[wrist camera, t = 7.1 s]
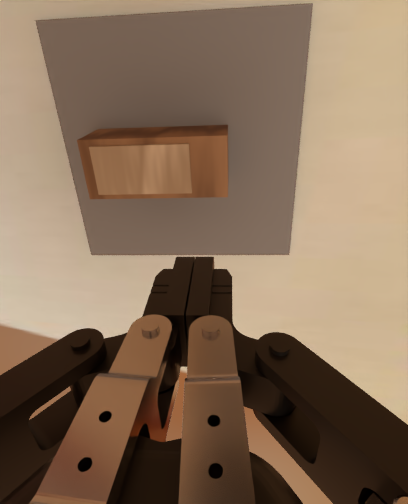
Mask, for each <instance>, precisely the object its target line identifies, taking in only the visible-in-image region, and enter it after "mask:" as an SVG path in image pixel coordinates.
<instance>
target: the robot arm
mask: <svg viewBox="0 0 408 504" xmlns="http://www.w3.org/2000/svg"><path fill="white" fill-rule="evenodd" d="M181 366H186V367H187V378H186V379H185V384H184V403H183V404H184V405H183V424H182V438H181V439H176V440H172V441H167V442H166V436H167V432H168V428H169V423H170V419H171V415H172V411H173V407H174V403H175V399H176V395H177V391H178V385H179V382H178V378H179V373H180V367H181ZM69 386H70V388H71V391H70V392H68V393H67V394H66V395H64V396H63V397H61V398H60V399H59V400H57V401H56V402H54V403H53V404H52V405H51V406H49V407H47V408H46V409H45V410H43V411H42V412H41V413H39V414H38V415H37V416H35V417H34V418H32V419H30V420H29V418H30V416H31V415H32V414H33V413H34V412H35V410H37V409H38V408H39V407H41V406H42V405H44V404H45V403H47V402H48V401H49V400H51V399H52V398H54V397H55V396H57V395H58V394H59V393H61V392H62V391H63V390H65V389H66V388H68V387H69ZM244 406H245V407H248V408H251V409H253V411H254V414H255V416H256V418H257V419H258V420H259V421H260V422H261V423H262V424H263V426H264V427H265V428H266V429H267V430H268V431H269V432H270V433H271V435H272V436H273V437H274V438H275V439H276V440H277V441H278V442H279V444H280V445H281V446H282V447H283V448H284V449H285V450H286V451H287V452H288V454H289V455H290V456H291V457H292V458H293V459H294V460H295V461H296V463H297V464H298V465H299V466H300V467H301V468H302V469H303V470H304V471H305V473H306V474H307V475H308V476H309V477H310V478H311V479H312V480H313V482H314V483H315V484H316V485H317V486H318V487H319V488H320V489H321V491H322V492H323V493H324V494H325V495H326V496H327V497H328V498H329V499H330V500H331V502H332V503H333V504H408V425H407V424H406V423H405V422H403V421H402V420H401V419H399V418H398V417H397V416H396V415H394V414H393V413H392V412H390V411H389V410H388V409H386V408H385V407H384V406H383V405H381V404H380V403H379V402H377V401H376V400H375V399H373V398H372V397H371V396H370V395H368V394H367V393H366V392H364V391H363V390H362V389H360V388H359V387H358V386H357V385H355V384H354V383H353V382H351V381H350V380H349V379H347V378H346V377H345V376H344V375H342V374H341V373H340V372H338V371H337V370H336V369H334V368H333V367H332V366H331V365H329V364H328V363H327V362H325V361H324V360H323V359H321V358H320V357H319V356H318V355H316V354H315V353H314V352H312V351H311V350H310V349H309V348H307V347H306V346H305V345H303V344H302V343H301V342H299V341H298V340H297V339H295V338H294V337H292V336H290V335H288V334H285V333H279V332H273V333H268V334H265V335H263V336H262V337H260V339H259V340H257V339H253V338H250V337H247V336H245V335H243V334H241V333H240V332H239V331H237V330H236V328H235V327H234V325H233V322H232V276H231V275H230V273H229V272H228V270H227V269H214V257H196V258H195V257H176V260H175V264H174V267H173V269H163V270H162V271H161V272H160V273H159V274H158V275H157V276H156V277H155V280H154V283H153V287H152V289H151V294H150V295H149V298H148V301H147V304H146V307H145V310H144V313H143V316H142V317H141V318H139V319H137V320H136V321H135V322H133V324H132V325H131V326H130V328H129V330H128V332H127V333H125V334H122V335H119V336H114V337H110V338H105V339H104V338H103V335H102V333H101V332H100V331H98V330H96V329H91V328H86V329H80V330H76V331H74V332H72V333H70V334H68V335H67V336H65V337H63V338H62V339H60V340H58V341H57V342H55V343H53V344H52V345H50V346H48V347H47V348H45V349H43V350H42V351H40V352H38V353H37V354H35V355H33V356H32V357H30V358H28V359H27V360H25V361H23V362H22V363H20V364H18V365H17V366H15V367H13V368H12V369H10V370H8V371H7V372H5V373H3V374H2V375H0V504H303V503H302V502H301V500H300V499H299V498H298V496H297V495H296V494H295V493H294V491H293V490H292V489H291V487H290V486H289V485H288V484H287V482H286V481H285V480H284V478H283V477H282V476H281V475H280V474H279V473H278V472H277V471H276V470H275V469H274V468H273V467H272V466H271V465H270V464H269V463H267V462H266V461H265V460H264V459H262V458H260V457H259V456H257V455H256V454H253V453H251V452H249V446H248V438H247V430H246V422H245V413H244Z"/></svg>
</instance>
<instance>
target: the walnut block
mask: <svg viewBox="0 0 408 504" xmlns="http://www.w3.org/2000/svg"><path fill="white" fill-rule="evenodd" d="M77 143H78V148H79V152H80V157H81V161H82V166H83V170H84V175H85V180H86V184H87V189H88V193H89V198H90V199H145V198H210V197H228V125H204V126H174V127H143V128H113V129H97V130H95V131H93V132H91V133H90V134H88V135H86V136H84V137H82V138H80V139H78V140H77Z"/></svg>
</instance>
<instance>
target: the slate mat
mask: <svg viewBox="0 0 408 504" xmlns="http://www.w3.org/2000/svg"><path fill="white" fill-rule="evenodd" d="M312 7H313V3H312V4H296V5H280V6H264V7H248V8H231V9H215V10H199V11H183V12H167V13H150V14H134V15H118V16H102V17H86V18H69V19H53V20H37V21H36V25H37V29H38V33H39V37H40V41H41V46H42V50H43V54H44V58H45V62H46V66H47V71H48V75H49V79H50V83H51V87H52V92H53V96H54V100H55V104H56V108H57V113H58V117H59V121H60V125H61V129H62V134H63V138H64V142H65V146H66V150H67V154H68V159H69V163H70V167H71V171H72V175H73V180H74V184H75V188H76V192H77V196H78V201H79V205H80V209H81V213H82V217H83V222H84V226H85V230H86V234H87V238H88V243H89V247H90V251H91V255H289V251H290V241H291V230H292V219H293V209H294V198H295V187H296V177H297V166H298V156H299V145H300V134H301V124H302V113H303V102H304V92H305V81H306V70H307V60H308V49H309V39H310V28H311V17H312ZM204 125H228V197H210V198H145V199H90V198H89V193H88V189H87V184H86V180H85V175H84V170H83V166H82V161H81V157H80V152H79V148H78V143H77V140H78V139H80V138H82V137H84V136H86V135H88V134H90V133H91V132H93V131H95V130H97V129H113V128H143V127H174V126H204Z"/></svg>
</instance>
